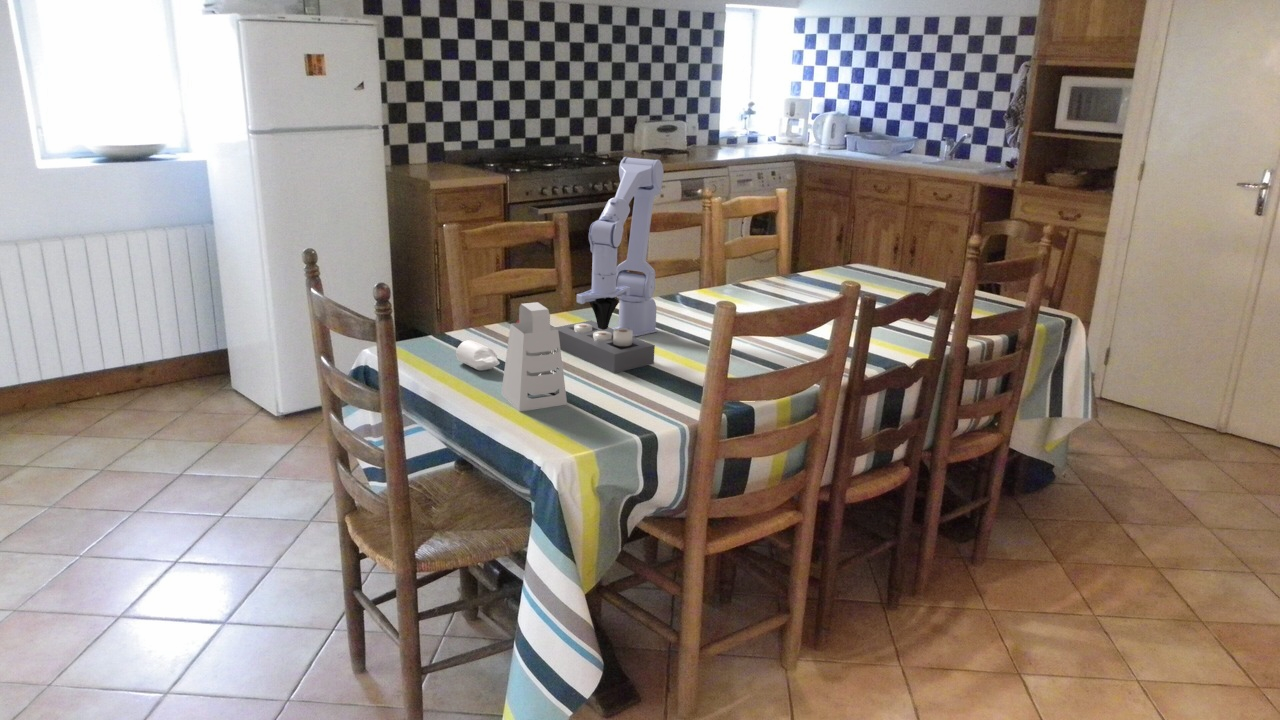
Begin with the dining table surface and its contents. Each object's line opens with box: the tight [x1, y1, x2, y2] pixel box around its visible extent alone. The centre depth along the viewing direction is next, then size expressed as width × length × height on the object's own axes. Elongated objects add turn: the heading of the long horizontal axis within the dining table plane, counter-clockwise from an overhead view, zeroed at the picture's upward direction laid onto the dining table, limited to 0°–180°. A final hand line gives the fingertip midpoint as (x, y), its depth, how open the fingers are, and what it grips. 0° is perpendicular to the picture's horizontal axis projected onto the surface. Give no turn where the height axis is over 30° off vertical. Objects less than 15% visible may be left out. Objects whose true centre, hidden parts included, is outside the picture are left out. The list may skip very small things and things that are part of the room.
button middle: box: [593, 331, 612, 341], centre depth 224 cm, size 4×4×3 cm
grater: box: [500, 301, 568, 412], centre depth 192 cm, size 10×10×20 cm
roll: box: [455, 339, 500, 371], centre depth 210 cm, size 6×12×6 cm, turn 41°
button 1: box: [574, 323, 592, 333], centre depth 229 cm, size 4×4×3 cm
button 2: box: [613, 328, 633, 346], centre depth 217 cm, size 4×4×3 cm
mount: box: [554, 319, 656, 374], centre depth 224 cm, size 12×24×4 cm, turn 41°
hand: (602, 328), depth 223 cm, fingers closed
